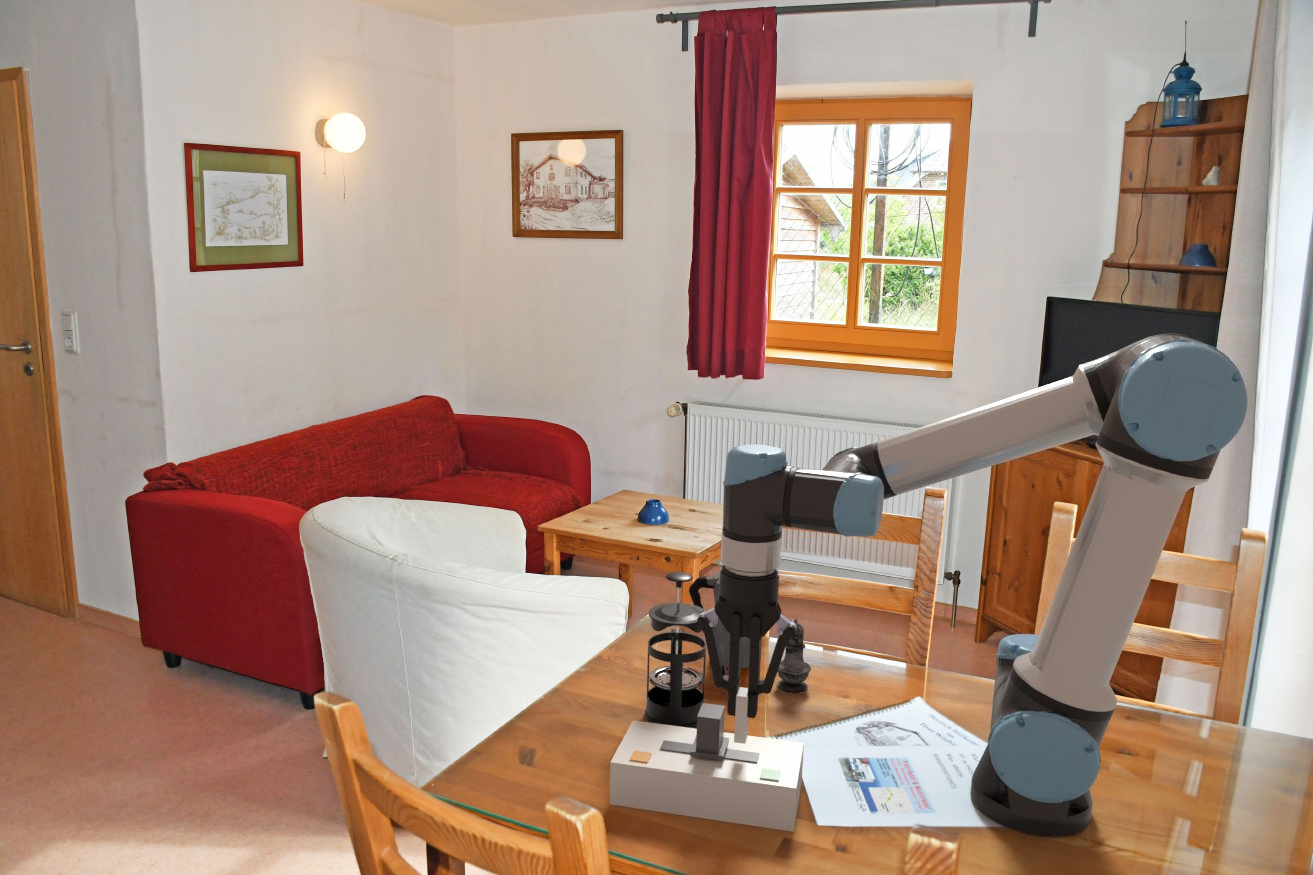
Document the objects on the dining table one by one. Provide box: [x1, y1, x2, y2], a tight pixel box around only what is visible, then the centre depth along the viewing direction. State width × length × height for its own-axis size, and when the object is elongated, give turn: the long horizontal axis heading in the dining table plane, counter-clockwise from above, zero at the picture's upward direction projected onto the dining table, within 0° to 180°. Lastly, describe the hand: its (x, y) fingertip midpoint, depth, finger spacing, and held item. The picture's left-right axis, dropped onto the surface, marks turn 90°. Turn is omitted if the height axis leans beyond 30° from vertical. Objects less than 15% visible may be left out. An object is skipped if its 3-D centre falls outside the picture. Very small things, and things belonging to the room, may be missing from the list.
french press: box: [644, 571, 707, 728], centre depth 154 cm, size 12×9×23 cm
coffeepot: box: [688, 572, 750, 670], centre depth 176 cm, size 15×9×18 cm, turn 104°
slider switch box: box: [609, 720, 805, 833], centre depth 133 cm, size 24×12×6 cm, turn 77°
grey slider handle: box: [690, 702, 729, 760], centre depth 132 cm, size 4×5×5 cm
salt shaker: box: [776, 618, 812, 695], centre depth 166 cm, size 6×6×12 cm
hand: (741, 737), depth 131 cm, fingers closed
